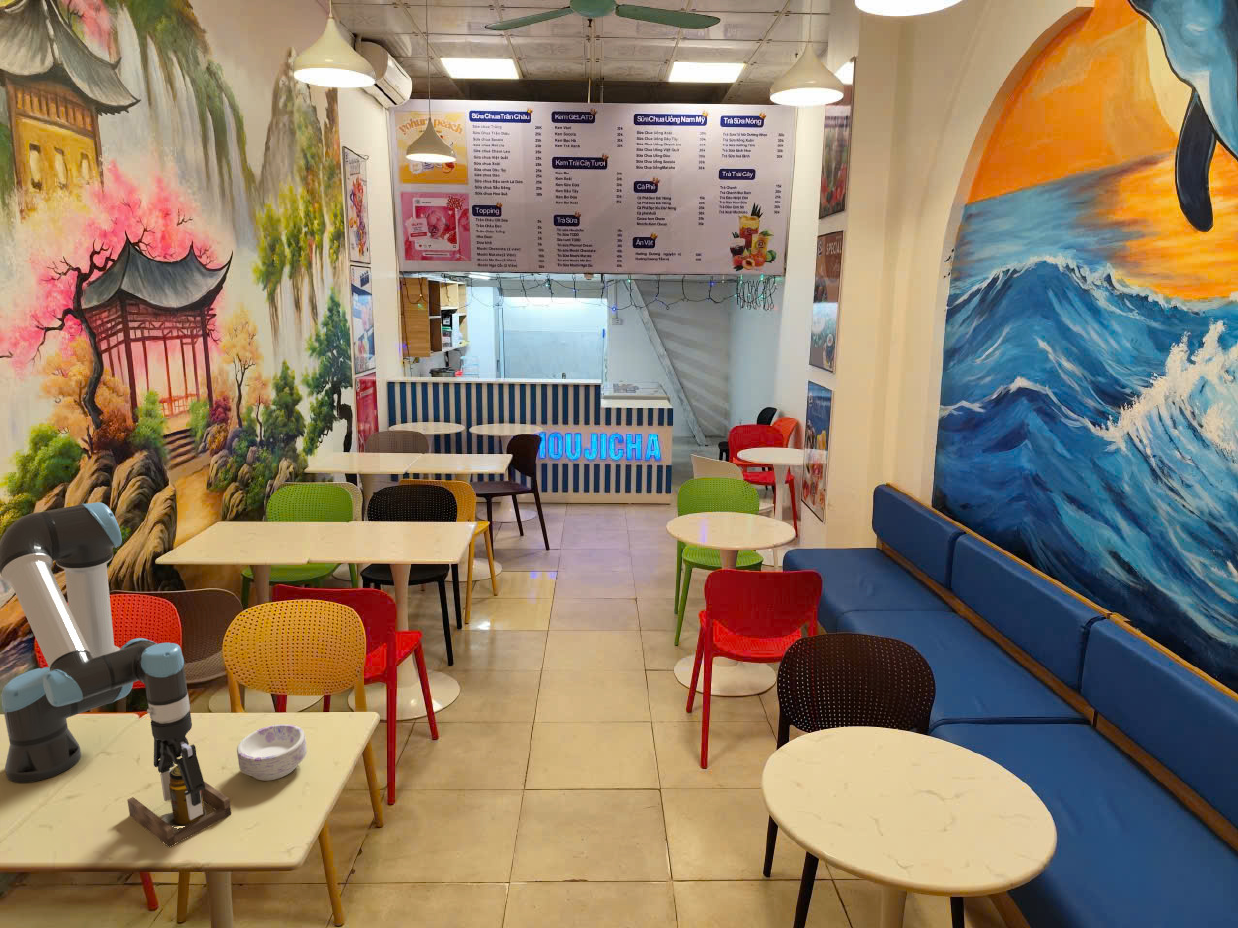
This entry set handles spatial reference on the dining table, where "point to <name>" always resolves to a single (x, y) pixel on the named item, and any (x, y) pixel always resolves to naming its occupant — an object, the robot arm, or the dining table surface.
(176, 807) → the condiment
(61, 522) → the robot arm
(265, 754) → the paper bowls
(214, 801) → the walnut shelf lane
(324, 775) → the dining table surface
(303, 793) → the dining table surface
